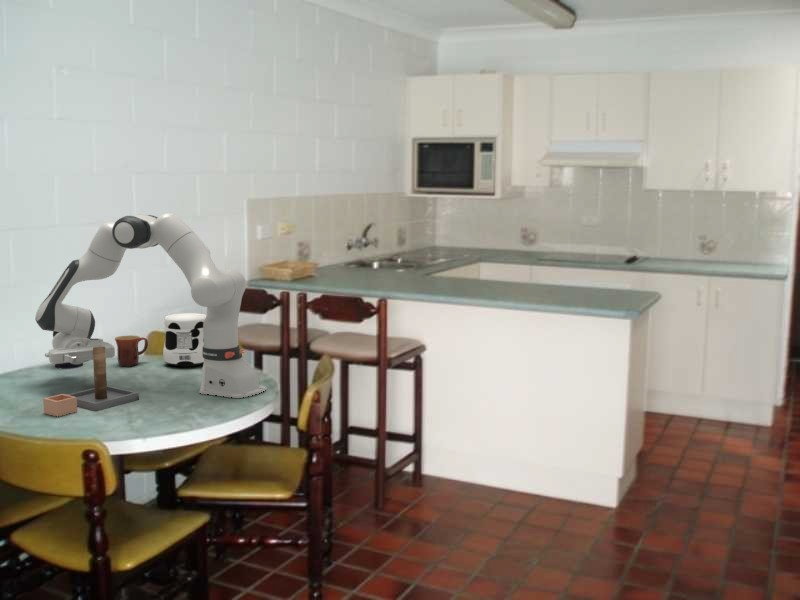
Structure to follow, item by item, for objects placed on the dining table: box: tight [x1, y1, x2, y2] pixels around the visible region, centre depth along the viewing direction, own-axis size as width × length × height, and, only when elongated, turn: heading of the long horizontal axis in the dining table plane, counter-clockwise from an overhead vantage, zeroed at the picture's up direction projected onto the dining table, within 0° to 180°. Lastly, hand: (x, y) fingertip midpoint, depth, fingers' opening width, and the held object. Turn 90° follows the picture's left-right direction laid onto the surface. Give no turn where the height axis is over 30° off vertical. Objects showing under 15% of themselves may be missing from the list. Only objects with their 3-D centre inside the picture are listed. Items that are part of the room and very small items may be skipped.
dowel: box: [92, 346, 108, 399], centre depth 265 cm, size 4×4×16 cm
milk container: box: [162, 312, 207, 367], centre depth 316 cm, size 17×17×18 cm
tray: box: [66, 385, 140, 412], centre depth 266 cm, size 16×16×2 cm
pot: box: [42, 393, 78, 418], centre depth 253 cm, size 7×7×4 cm
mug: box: [114, 335, 149, 367], centre depth 316 cm, size 12×9×10 cm
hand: (88, 358), depth 272 cm, fingers open, 8 cm apart
